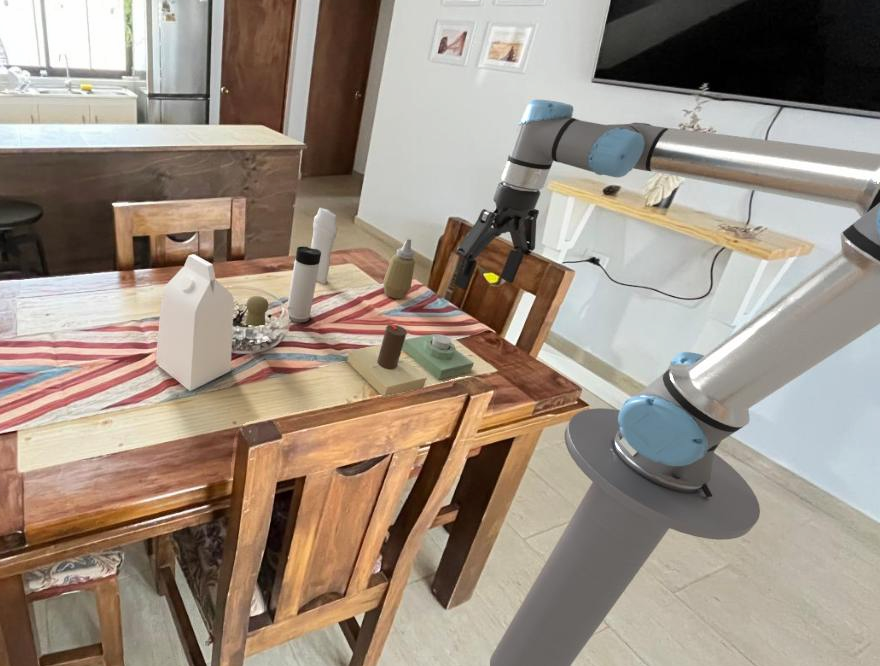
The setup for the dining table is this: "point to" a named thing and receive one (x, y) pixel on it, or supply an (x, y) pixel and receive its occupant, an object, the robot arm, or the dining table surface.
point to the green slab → (437, 357)
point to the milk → (195, 325)
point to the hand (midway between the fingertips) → (483, 283)
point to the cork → (256, 310)
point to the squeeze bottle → (400, 272)
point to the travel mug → (303, 283)
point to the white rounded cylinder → (324, 240)
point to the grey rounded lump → (441, 342)
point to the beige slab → (385, 372)
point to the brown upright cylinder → (391, 346)
